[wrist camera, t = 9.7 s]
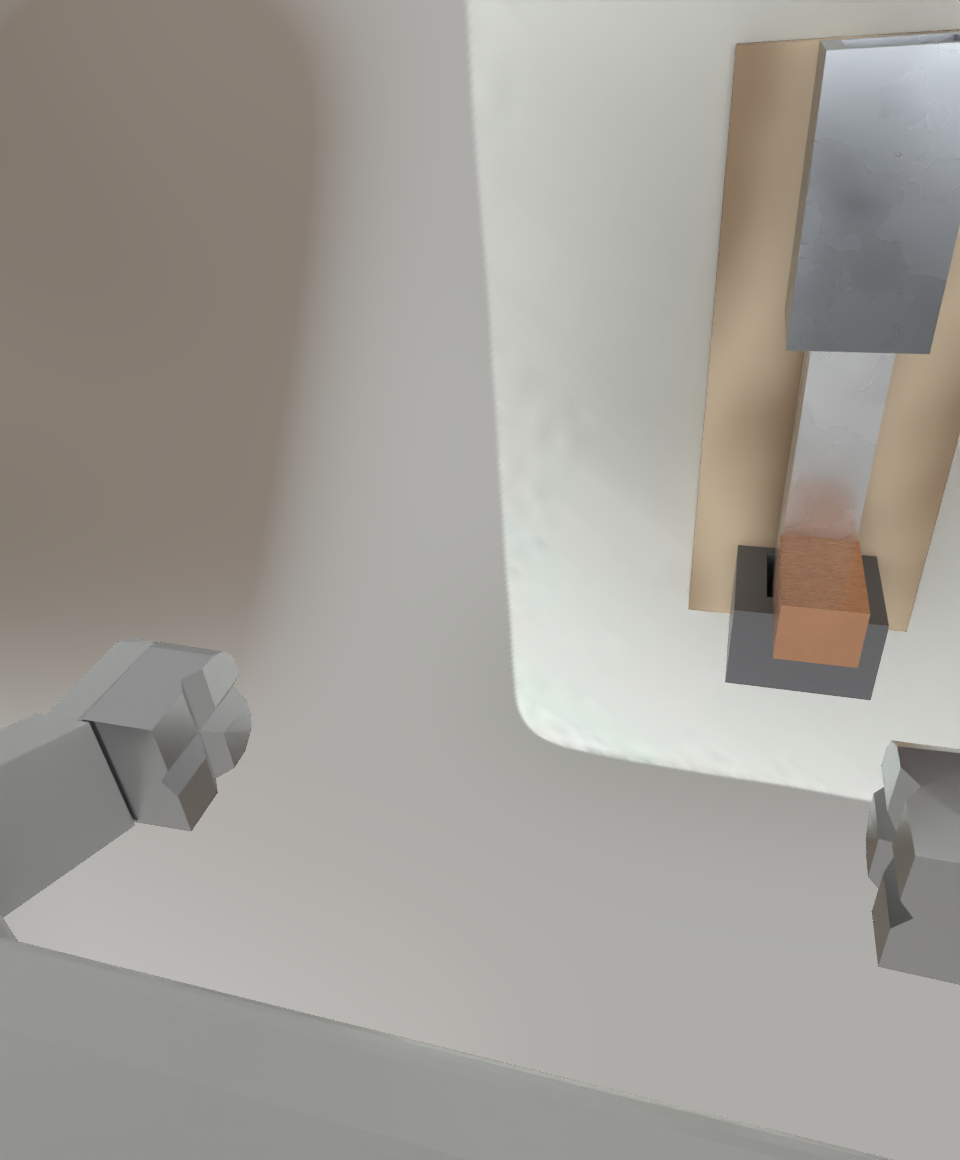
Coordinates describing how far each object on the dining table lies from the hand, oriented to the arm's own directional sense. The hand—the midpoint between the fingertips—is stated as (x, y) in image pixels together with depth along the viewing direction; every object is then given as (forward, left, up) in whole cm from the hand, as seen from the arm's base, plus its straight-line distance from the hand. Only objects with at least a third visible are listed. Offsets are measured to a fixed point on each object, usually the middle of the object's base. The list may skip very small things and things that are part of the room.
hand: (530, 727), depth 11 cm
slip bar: (-6, +10, -27) cm, 29 cm away
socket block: (-6, +17, -28) cm, 33 cm away
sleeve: (-6, -1, -28) cm, 29 cm away
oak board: (-6, +7, -29) cm, 30 cm away
